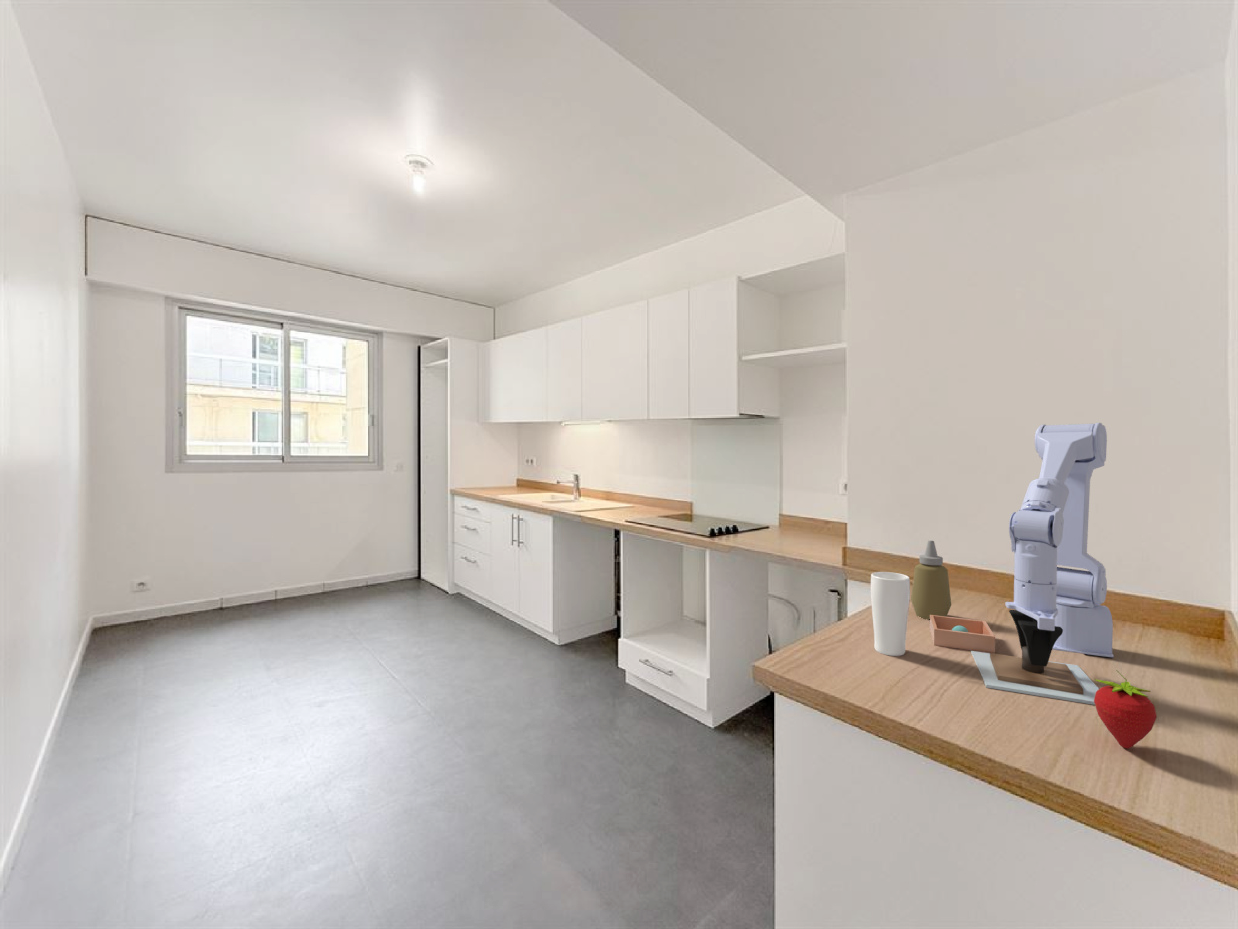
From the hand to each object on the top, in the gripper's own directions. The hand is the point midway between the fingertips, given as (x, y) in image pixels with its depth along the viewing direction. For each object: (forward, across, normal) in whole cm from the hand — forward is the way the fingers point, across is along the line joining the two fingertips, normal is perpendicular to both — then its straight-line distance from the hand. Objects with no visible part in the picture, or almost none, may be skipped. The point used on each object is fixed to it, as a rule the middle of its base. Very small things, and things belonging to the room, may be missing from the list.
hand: (1033, 659), depth 90 cm
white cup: (+3, -2, -22) cm, 22 cm away
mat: (+3, 0, 0) cm, 3 cm away
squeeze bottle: (+3, -29, -13) cm, 32 cm away
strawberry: (+3, +21, +5) cm, 22 cm away
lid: (+3, 0, 0) cm, 3 cm away
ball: (+3, -14, -9) cm, 17 cm away
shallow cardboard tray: (+3, -14, -9) cm, 17 cm away
